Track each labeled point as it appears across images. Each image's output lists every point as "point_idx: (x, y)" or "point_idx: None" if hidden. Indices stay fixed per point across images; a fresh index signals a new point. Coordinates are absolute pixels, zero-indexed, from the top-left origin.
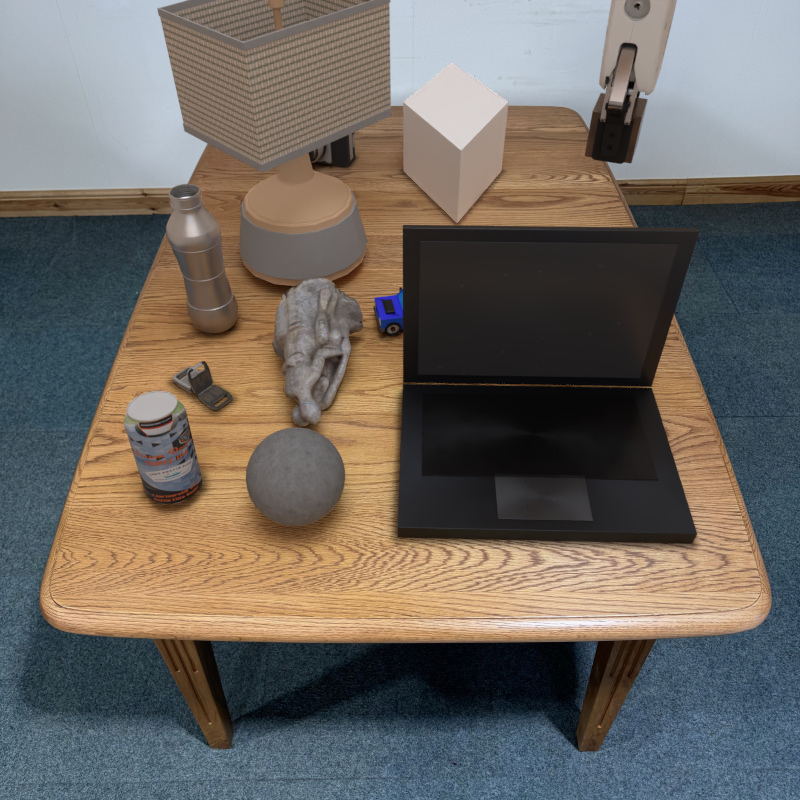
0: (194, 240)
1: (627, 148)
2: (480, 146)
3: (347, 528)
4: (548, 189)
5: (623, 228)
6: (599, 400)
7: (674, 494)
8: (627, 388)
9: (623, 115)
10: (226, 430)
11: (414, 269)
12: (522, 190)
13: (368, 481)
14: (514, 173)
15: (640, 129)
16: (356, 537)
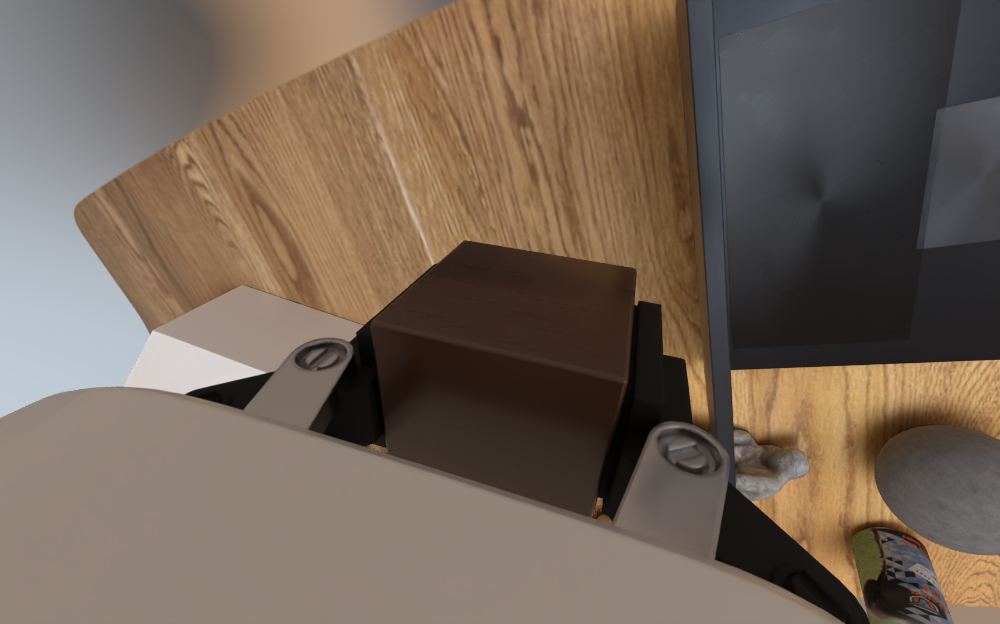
0: None
1: (654, 329)
2: (258, 347)
3: (971, 398)
4: (246, 222)
5: (709, 191)
6: (733, 102)
7: None
8: None
9: (837, 581)
10: (785, 507)
11: None
12: (266, 256)
13: (881, 383)
14: (238, 268)
15: (480, 276)
16: (990, 388)
